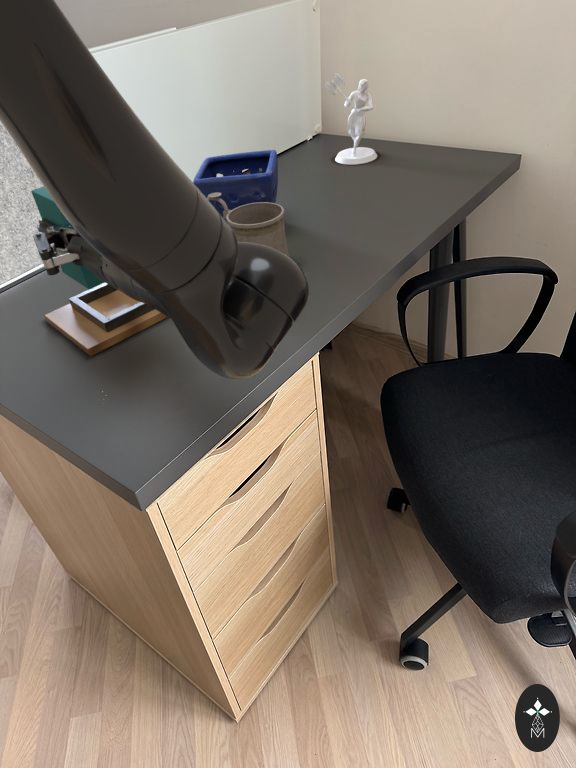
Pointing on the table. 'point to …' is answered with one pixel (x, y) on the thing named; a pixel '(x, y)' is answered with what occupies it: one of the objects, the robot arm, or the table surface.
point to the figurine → (355, 122)
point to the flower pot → (239, 178)
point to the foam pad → (54, 215)
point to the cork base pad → (102, 318)
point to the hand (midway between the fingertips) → (65, 220)
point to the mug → (256, 223)
